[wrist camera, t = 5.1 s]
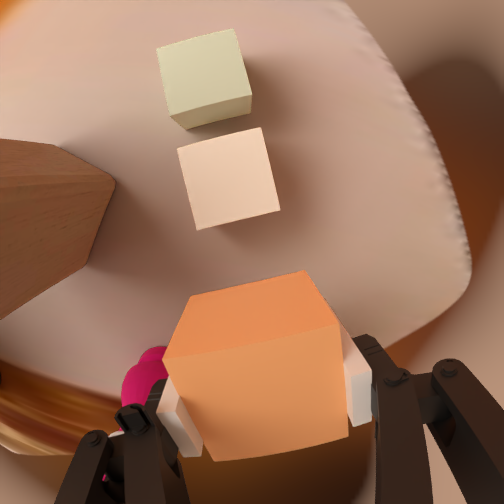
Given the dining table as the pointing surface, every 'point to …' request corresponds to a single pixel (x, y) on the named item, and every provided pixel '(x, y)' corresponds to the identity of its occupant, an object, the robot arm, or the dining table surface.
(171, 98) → the sage cube
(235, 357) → the orange cube
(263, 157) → the cream cube
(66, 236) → the wooden block
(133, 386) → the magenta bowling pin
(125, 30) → the dining table surface
